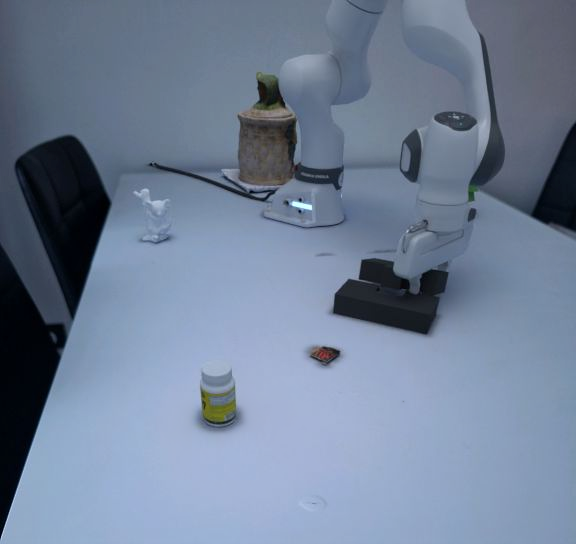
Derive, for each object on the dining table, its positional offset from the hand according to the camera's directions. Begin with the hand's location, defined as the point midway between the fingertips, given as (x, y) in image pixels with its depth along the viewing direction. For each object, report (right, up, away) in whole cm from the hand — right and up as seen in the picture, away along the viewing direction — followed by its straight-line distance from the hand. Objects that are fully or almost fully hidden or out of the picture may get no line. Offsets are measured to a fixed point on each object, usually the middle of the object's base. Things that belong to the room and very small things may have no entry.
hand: (427, 286), depth 103 cm
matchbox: (-21, -14, -14) cm, 29 cm away
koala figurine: (-59, +17, +29) cm, 68 cm away
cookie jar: (-34, +49, +77) cm, 97 cm away
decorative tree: (+21, +29, +50) cm, 62 cm away
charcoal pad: (-8, -6, -1) cm, 10 cm away
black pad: (-5, 0, +2) cm, 6 cm away
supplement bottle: (-36, -24, -28) cm, 52 cm away
